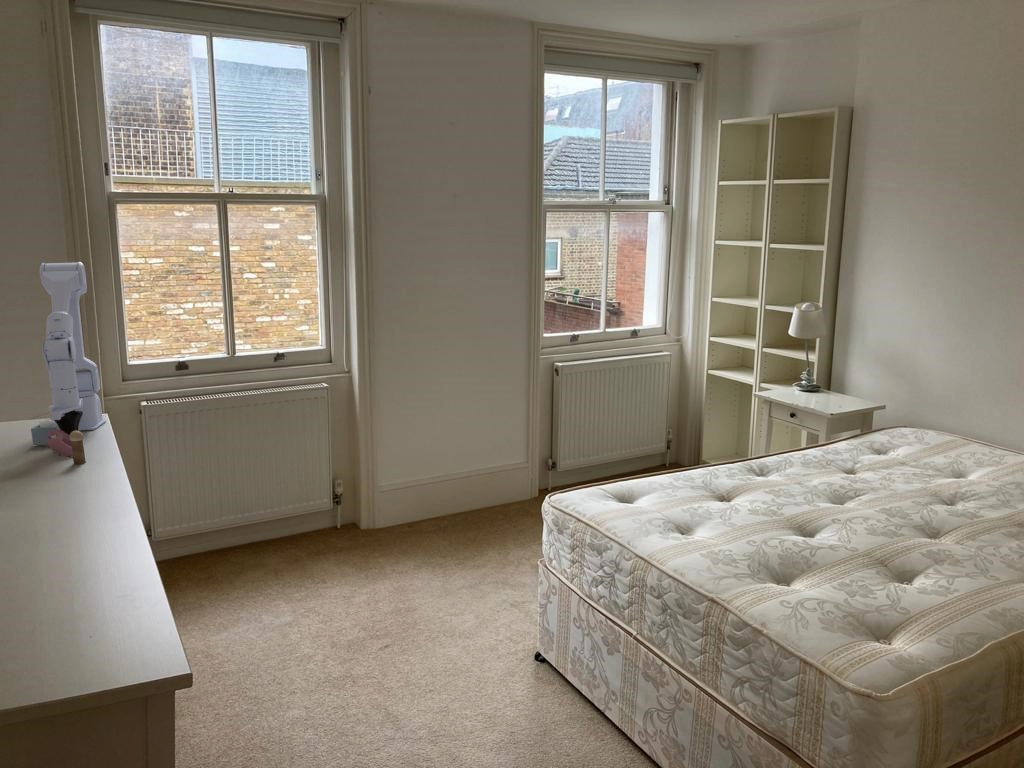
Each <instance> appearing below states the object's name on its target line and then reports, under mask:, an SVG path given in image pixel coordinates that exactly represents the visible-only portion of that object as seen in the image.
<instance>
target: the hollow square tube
mask: <svg viewBox="0 0 1024 768" xmlns="http://www.w3.org/2000/svg"><path fill="white" fill-rule="evenodd" d="M55 429H57V430H58V429H60V428H59V426H58V425H57V426H55V427H40V424H39V423H38V424H36V425H35V426H32V427H31V428H30V431H31V438H32V446H33V445H46V446H49V445H48V444H47V441H46V439H47V438H48V433H49V432H50V431H52V430H55ZM60 430H61V429H60Z"/></svg>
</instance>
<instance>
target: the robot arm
mask: <svg viewBox="0 0 1024 768" xmlns="http://www.w3.org/2000/svg"><path fill="white" fill-rule="evenodd" d="M39 278H40V283H41V285H42V286H43V288H44V289H45V291H46V292H47V294H48V295H49V296H50V300H51V301H50V303H51V313H50V314H48V316H47V317H46V329H45V330H46V332H45V341H43V342H42V346H41V347H42V348H41V349H42V352H41V353H42V357H43V360H44V362H45V369H46V371H47V372H48V377H49V387H50V393H51V399H52V400H51V401H52V404H51V405H49V406H48V407H47V408H48V410H51V411H50V412H49V417H50V418H49V419H51V420H54V421H55V422H56V423H57V425H58V426H59V428H60V429H61V430H63V431H64V432H65V433H67V434H68V435H70V434H71V432H73V431H93V430H96V429H97V428H99V427H100V426H102V425H103V424H105V423H106V422H107V419H103V411H102V404H101V398H100V397H99V395H98V394H97V393H99V391H100V390H101V378H100V374H99V370H98V364H96V363H95V362H94V361H92V360H91V359H89V358H87V357H86V356H85V347H84V345H85V344H84V338H83V336H84V335H83V329H82V319H81V317H82V316H81V309H80V302H81V301H80V300H81V297H82V296H83V295H85V294H86V293H87V290H88V285H87V284H88V283H87V273H86V268H85V264H83V262H81V261H78V262H57V263H56V262H52V263H48V262H47V263H45V262H42V263H41V264H40V266H39ZM81 369H82V370H81Z"/></svg>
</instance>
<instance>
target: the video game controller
mask: <svg viewBox="0 0 1024 768" xmlns="http://www.w3.org/2000/svg"><path fill="white" fill-rule="evenodd" d="M69 436H70V435H68V434H67V433H65V432H64V431H63V430H60V429H58V430H57V429H55V430H52V431H50V432H49V433H48V438H47V439H46V441H47V444H48V445H47V446H49V448H50V449H51V450H52V451H53V452H55V453H56V454H58V455H59V456H61V455H62V456H65V457H70V458H71V456H72V457H73V453H72V446H71V440H70V438H69Z"/></svg>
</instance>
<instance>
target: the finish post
mask: <svg viewBox="0 0 1024 768" xmlns="http://www.w3.org/2000/svg"><path fill="white" fill-rule="evenodd" d="M69 438H70V440H71V446H72V453H73V456H72V459H73V461H72V462H73V465H82V463H83V464H85V463H86V461H87V460H86V455H85V447H84V434H83V433H82V431H81V430H78V431H73V432H71V434H70V436H69Z"/></svg>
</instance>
